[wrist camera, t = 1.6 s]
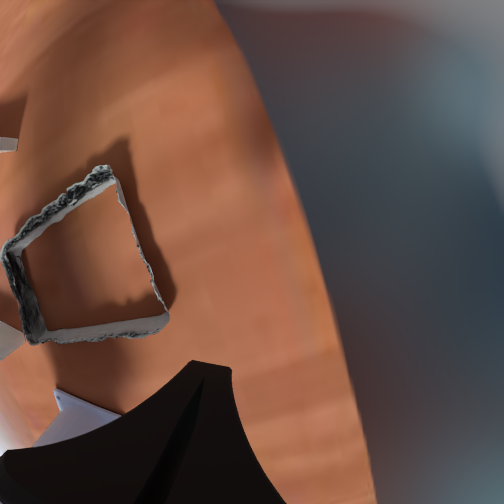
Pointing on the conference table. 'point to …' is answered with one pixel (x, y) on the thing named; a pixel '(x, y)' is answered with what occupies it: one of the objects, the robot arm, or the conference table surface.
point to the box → (3, 336)
